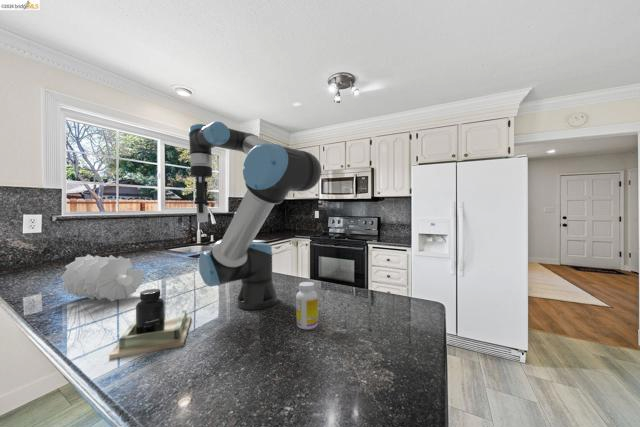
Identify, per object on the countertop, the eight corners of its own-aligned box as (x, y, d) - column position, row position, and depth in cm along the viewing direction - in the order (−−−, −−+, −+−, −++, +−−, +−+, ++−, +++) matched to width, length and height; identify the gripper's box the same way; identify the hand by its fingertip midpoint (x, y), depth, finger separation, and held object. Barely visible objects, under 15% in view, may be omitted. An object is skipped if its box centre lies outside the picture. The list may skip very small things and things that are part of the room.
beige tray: (133, 327, 79) (133, 315, 79) (191, 318, 84) (191, 308, 84) (109, 359, 62) (108, 344, 62) (183, 345, 68) (183, 332, 68)
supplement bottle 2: (321, 322, 81) (320, 281, 80) (313, 331, 74) (313, 288, 74) (301, 319, 83) (301, 280, 83) (292, 328, 77) (292, 286, 76)
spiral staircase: (116, 314, 99) (69, 305, 105) (153, 283, 114) (110, 277, 120) (94, 277, 91) (45, 270, 97) (137, 249, 106) (92, 244, 112)
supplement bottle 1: (149, 340, 69) (148, 296, 68) (130, 337, 70) (128, 294, 70) (170, 328, 75) (169, 288, 75) (152, 326, 77) (151, 286, 77)
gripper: (194, 171, 108) (195, 221, 108) (185, 159, 85) (187, 223, 85) (213, 172, 111) (214, 221, 111) (210, 160, 87) (212, 222, 87)
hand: (203, 222), depth 98 cm, fingers open, 13 cm apart
